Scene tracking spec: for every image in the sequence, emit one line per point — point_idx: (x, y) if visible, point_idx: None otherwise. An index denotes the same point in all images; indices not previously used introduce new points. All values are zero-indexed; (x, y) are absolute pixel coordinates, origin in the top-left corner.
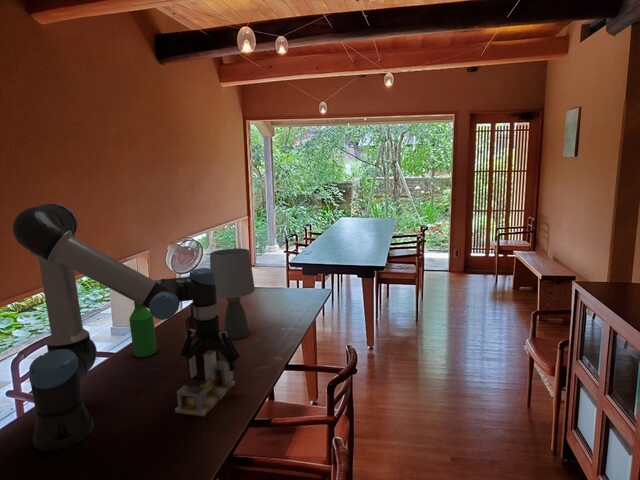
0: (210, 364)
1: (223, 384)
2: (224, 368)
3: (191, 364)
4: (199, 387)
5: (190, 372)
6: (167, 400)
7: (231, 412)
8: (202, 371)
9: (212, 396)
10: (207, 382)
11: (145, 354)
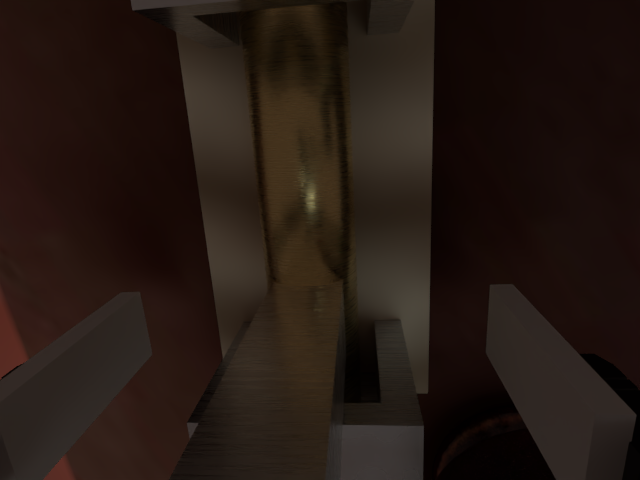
0: (241, 373)
1: None
2: (194, 416)
3: (552, 366)
4: None
5: (530, 307)
6: (601, 72)
7: (37, 62)
8: (498, 438)
9: (247, 175)
10: (288, 230)
11: None
